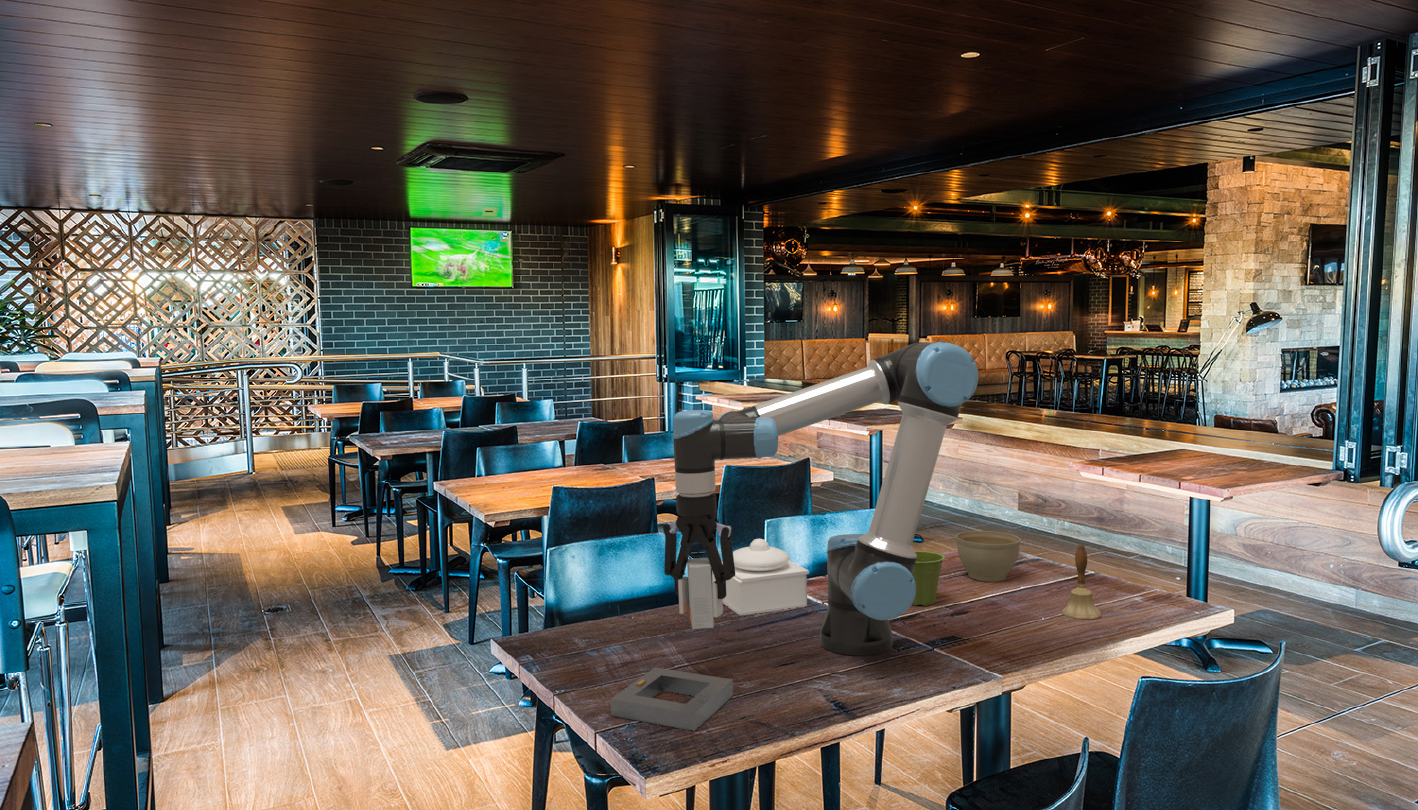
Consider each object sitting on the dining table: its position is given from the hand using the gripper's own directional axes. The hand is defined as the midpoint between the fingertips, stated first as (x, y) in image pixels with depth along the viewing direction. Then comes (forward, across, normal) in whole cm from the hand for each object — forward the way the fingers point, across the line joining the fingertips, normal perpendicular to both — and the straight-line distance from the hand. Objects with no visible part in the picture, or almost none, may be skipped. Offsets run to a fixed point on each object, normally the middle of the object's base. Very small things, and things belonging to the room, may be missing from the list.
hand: (701, 613), depth 173 cm
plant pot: (+14, -27, -64) cm, 71 cm away
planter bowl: (+15, -39, -92) cm, 101 cm away
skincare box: (+2, 0, 0) cm, 2 cm away
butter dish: (+14, +9, -51) cm, 53 cm away
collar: (+13, 0, +13) cm, 18 cm away
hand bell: (+15, -63, -68) cm, 94 cm away
